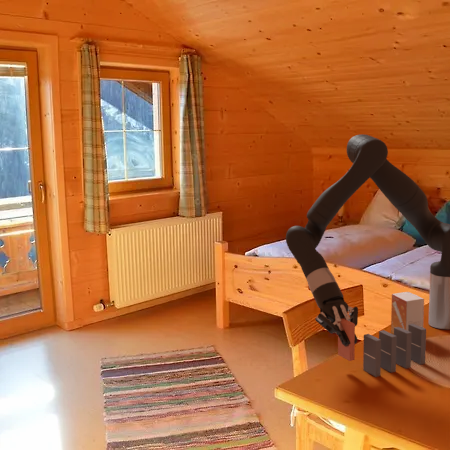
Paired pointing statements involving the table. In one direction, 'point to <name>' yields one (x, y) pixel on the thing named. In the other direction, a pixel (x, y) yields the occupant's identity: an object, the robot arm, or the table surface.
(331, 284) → the robot arm
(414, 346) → the domino
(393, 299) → the small box
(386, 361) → the domino
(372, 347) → the domino
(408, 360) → the domino
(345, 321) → the domino
